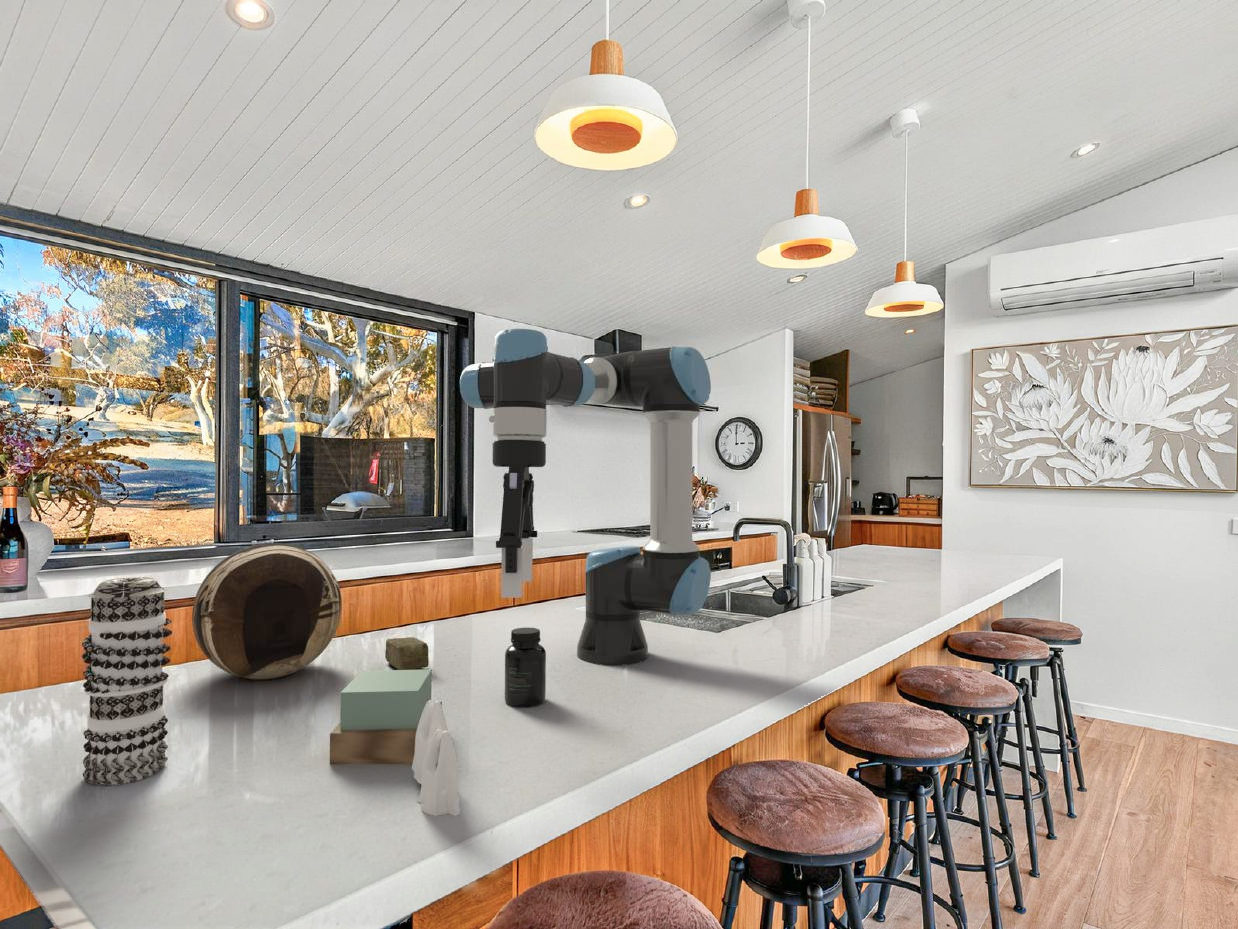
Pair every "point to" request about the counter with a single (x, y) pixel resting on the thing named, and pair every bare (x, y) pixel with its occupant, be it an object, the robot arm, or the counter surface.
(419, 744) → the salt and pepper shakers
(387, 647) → the stone block
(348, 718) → the sage top block
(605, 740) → the counter surface
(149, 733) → the decorative candle
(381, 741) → the walnut base block
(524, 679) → the supplement bottle
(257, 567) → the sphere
